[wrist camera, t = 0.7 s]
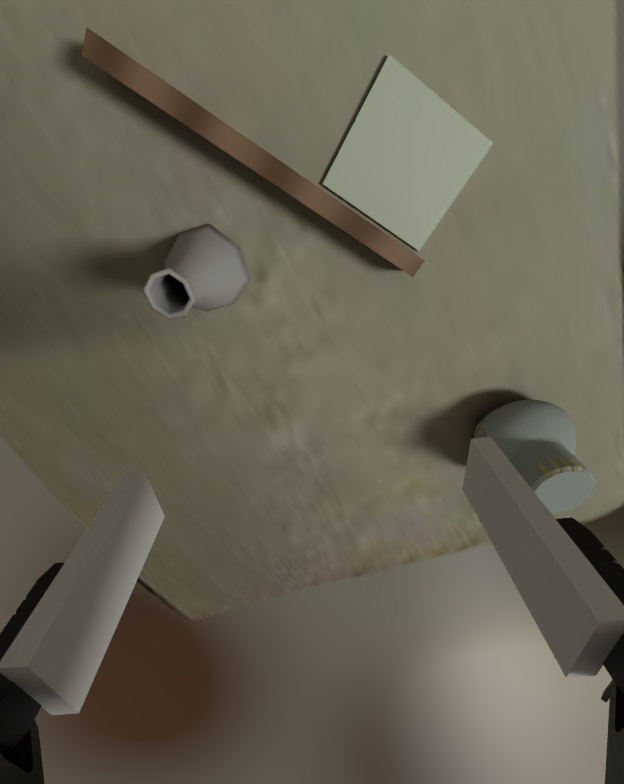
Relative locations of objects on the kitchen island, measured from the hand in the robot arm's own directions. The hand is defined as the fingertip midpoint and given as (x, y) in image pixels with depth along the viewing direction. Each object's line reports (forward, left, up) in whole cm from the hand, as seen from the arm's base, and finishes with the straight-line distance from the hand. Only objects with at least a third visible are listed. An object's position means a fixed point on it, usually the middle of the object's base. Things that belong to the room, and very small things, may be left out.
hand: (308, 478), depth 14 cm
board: (0, +15, -22) cm, 27 cm away
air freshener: (+27, 0, -22) cm, 35 cm away
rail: (-8, +9, -22) cm, 25 cm away
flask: (-10, -1, -22) cm, 25 cm away
